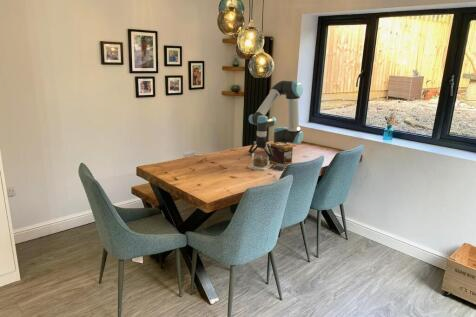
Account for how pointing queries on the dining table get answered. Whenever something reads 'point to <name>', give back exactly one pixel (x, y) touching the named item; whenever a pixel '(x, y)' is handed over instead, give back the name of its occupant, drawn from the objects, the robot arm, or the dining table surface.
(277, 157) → the supplement box
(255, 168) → the white post holder
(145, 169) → the dining table surface
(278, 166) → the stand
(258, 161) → the brown block
